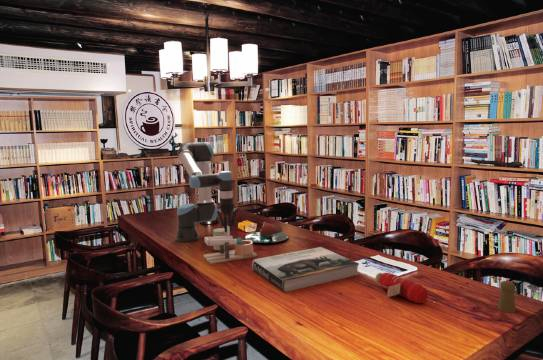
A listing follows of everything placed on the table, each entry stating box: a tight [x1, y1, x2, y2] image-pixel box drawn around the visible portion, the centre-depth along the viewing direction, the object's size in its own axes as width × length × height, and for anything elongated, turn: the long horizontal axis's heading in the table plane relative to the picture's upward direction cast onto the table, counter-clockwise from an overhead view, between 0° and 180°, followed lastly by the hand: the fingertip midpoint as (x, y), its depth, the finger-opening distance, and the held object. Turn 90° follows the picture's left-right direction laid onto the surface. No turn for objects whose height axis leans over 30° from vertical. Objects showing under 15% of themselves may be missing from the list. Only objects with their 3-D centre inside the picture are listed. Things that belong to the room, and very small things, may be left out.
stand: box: [202, 242, 258, 265], centre depth 228 cm, size 15×28×10 cm, turn 114°
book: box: [251, 246, 360, 293], centre depth 199 cm, size 43×33×6 cm
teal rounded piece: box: [245, 221, 289, 244], centre depth 262 cm, size 28×28×11 cm
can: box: [212, 227, 226, 251], centre depth 244 cm, size 9×9×12 cm
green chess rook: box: [497, 280, 517, 314], centre depth 154 cm, size 6×6×11 cm
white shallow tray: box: [203, 235, 237, 247], centre depth 227 cm, size 15×16×3 cm
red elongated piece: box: [374, 272, 429, 304], centre depth 170 cm, size 12×8×25 cm
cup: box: [233, 239, 254, 255], centre depth 231 cm, size 10×10×6 cm
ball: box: [236, 237, 244, 245], centre depth 229 cm, size 4×4×4 cm
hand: (228, 237), depth 235 cm, fingers closed
